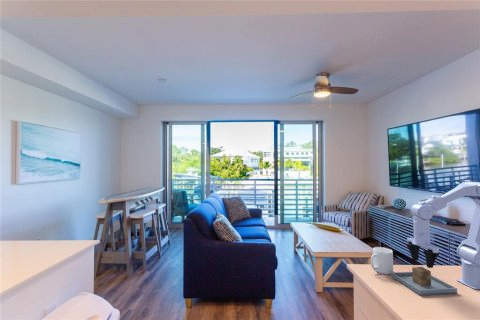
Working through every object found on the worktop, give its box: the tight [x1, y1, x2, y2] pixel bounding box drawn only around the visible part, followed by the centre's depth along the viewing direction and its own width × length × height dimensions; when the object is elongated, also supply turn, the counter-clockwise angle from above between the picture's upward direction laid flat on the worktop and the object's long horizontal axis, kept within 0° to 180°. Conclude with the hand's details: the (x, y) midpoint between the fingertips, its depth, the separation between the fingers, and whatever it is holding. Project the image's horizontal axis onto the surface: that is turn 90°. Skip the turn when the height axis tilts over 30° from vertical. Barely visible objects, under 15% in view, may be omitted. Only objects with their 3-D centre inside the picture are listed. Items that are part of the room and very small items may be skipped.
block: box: [411, 266, 432, 286], centre depth 104 cm, size 4×4×6 cm
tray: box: [390, 271, 458, 297], centre depth 104 cm, size 16×16×2 cm
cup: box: [370, 246, 394, 275], centre depth 118 cm, size 8×12×10 cm
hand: (422, 263), depth 106 cm, fingers open, 7 cm apart
